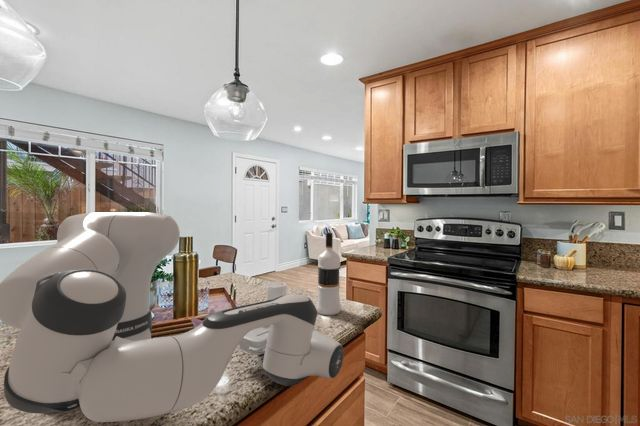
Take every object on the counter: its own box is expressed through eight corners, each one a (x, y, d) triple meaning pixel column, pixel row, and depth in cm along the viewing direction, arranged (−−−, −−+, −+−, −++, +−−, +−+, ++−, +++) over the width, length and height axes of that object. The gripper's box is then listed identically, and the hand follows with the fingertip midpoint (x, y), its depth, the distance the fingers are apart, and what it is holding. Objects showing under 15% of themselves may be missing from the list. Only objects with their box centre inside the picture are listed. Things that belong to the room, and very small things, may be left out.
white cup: (285, 314, 113) (285, 287, 112) (264, 313, 113) (264, 287, 112) (287, 306, 121) (287, 281, 120) (267, 306, 121) (267, 281, 120)
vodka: (324, 317, 109) (325, 234, 108) (311, 309, 117) (312, 232, 116) (345, 313, 114) (346, 233, 113) (332, 305, 122) (332, 231, 121)
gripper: (257, 367, 72) (226, 347, 81) (317, 338, 87) (285, 324, 96) (257, 341, 71) (226, 324, 81) (317, 316, 86) (285, 305, 96)
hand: (259, 324), depth 89 cm, fingers closed on sleeve, 6 cm apart
